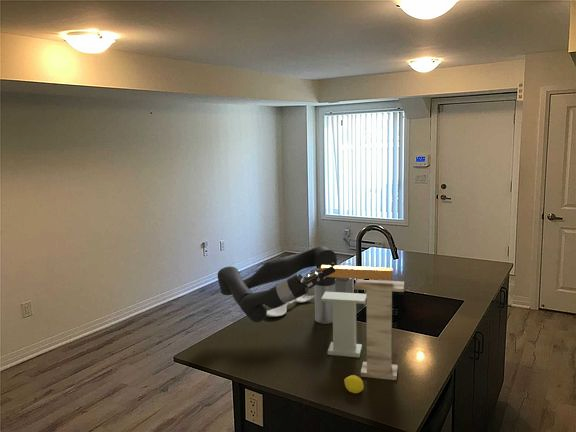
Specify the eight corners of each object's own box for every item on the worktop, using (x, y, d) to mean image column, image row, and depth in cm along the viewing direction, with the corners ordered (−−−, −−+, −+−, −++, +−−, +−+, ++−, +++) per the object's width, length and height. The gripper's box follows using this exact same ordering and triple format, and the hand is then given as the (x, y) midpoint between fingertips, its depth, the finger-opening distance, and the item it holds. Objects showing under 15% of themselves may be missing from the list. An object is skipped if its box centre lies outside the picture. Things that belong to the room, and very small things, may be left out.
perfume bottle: (340, 302, 235) (339, 267, 232) (352, 305, 231) (352, 269, 228) (333, 306, 229) (332, 270, 226) (345, 309, 225) (345, 272, 222)
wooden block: (322, 273, 167) (322, 264, 166) (392, 276, 162) (392, 267, 162) (320, 276, 164) (320, 267, 163) (392, 280, 159) (392, 270, 158)
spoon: (315, 300, 239) (315, 294, 238) (275, 321, 214) (275, 314, 213) (301, 297, 244) (300, 291, 244) (260, 317, 219) (260, 310, 219)
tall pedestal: (357, 364, 171) (356, 279, 166) (403, 369, 167) (404, 281, 162) (354, 375, 164) (353, 286, 158) (402, 380, 159) (403, 288, 154)
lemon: (366, 392, 154) (368, 377, 153) (357, 399, 150) (359, 384, 149) (348, 383, 158) (349, 368, 157) (339, 390, 154) (340, 375, 153)
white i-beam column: (326, 344, 188) (325, 291, 184) (367, 348, 184) (366, 293, 180) (322, 354, 181) (321, 298, 177) (364, 357, 176) (364, 301, 173)
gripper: (300, 290, 175) (341, 269, 171) (294, 305, 162) (338, 283, 157) (290, 273, 175) (331, 252, 170) (282, 286, 161) (326, 263, 156)
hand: (334, 267), depth 164 cm, fingers closed on wooden block, 3 cm apart
